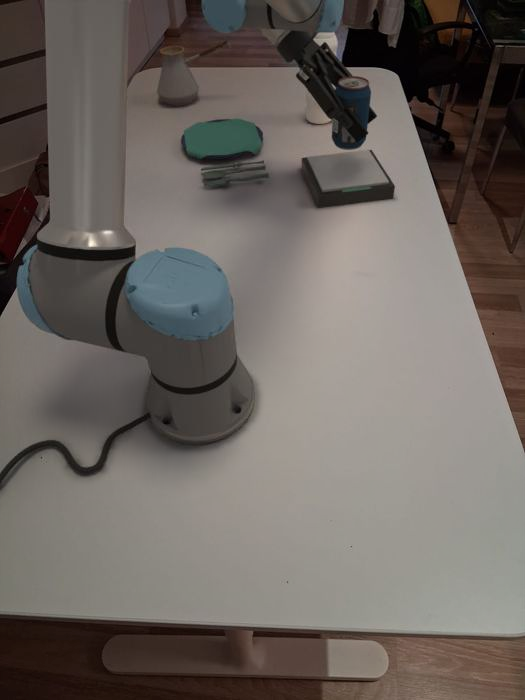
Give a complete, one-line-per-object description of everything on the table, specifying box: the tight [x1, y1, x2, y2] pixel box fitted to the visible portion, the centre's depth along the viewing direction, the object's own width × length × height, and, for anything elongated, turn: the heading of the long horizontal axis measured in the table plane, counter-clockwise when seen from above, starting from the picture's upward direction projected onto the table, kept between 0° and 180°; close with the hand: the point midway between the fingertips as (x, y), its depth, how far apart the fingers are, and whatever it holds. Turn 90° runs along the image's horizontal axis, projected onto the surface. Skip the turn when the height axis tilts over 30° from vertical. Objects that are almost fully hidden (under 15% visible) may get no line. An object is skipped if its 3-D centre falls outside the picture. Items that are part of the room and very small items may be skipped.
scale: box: [300, 149, 396, 209], centre depth 115 cm, size 16×16×3 cm
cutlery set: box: [180, 118, 270, 188], centre depth 126 cm, size 20×30×2 cm, turn 9°
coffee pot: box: [156, 39, 232, 107], centre depth 144 cm, size 21×12×15 cm, turn 86°
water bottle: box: [305, 31, 339, 125], centre depth 129 cm, size 7×7×25 cm
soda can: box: [331, 75, 372, 151], centre depth 105 cm, size 7×7×12 cm
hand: (367, 128), depth 106 cm, fingers closed on soda can, 7 cm apart
